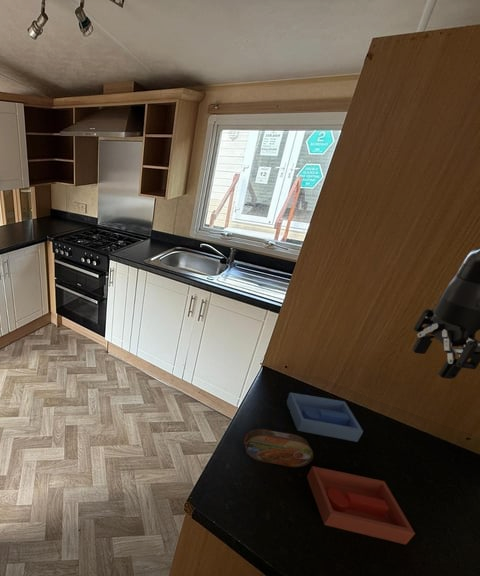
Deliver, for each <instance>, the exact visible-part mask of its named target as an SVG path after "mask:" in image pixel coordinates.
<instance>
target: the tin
mask: <svg viewBox="0 0 480 576" xmlns="http://www.w3.org/2000/svg"><path fill="white" fill-rule="evenodd" d="M243 443H244V450H245V452H246V454H247V455H248V456H249V457H250V458H252V459H253V460H256V461H258V462H264V463H269V464H274V465H279V466H283V467H289V468H302V467H305V466H307V465H309V464H310V463H311V462H312V461H313V459H314V451H313V449H312V448H311V445H310V444H309V442H308V441H307V440H306V439H305V438H304V437H302V436H301V435H297V434H293V433H287V432H283V431H277V430H271V429H266V428H256V429H253V430H250V431H249V432H247V434H245V437H244V440H243Z"/></svg>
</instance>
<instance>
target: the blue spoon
mask: <svg viewBox="0 0 480 576" xmlns="http://www.w3.org/2000/svg"><path fill="white" fill-rule="evenodd" d="M302 416H303V418H304V419H308V420H314V421H320V422H326V423H331V424H337V425H343V426H346V425H347V423H348V421H349V419H350V418H349V416H348V415H347V414H346V413H340V412H335V411H329V410H323V409H319V410H318V411H317V410H315V409H313V408H311V407H305V408H304V410H303V412H302Z"/></svg>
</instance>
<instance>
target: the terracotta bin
mask: <svg viewBox="0 0 480 576" xmlns="http://www.w3.org/2000/svg"><path fill="white" fill-rule="evenodd" d="M310 467H311V468H310V470H309V472H308V473H307V475H306V478H307V481H308V484H309V487H310V490H311V492H312V496H313V498H314V501H315V503H316V506H317V509H318V512H319V514H320V517H321V520H322V522H323V526H326V527H332V528H336V529H340V530H343V531H348V532H352V533H356V534H360V535H364V536H369V537H373V538H377V539H380V540H385V541H390V542H394V543H397V544H401V545H407V544H408V543H409V542H410V541H411V540H412V538H413V537H414V536H415V535H416V532H415V531H414V529H413V527H412V526H411V524H410V522H409V521H408V519H407V517H406V515H405V514H404V512H403V510H402V508H401V507H400V505H399V503H398V502H397V500H396V499H395V496H394V495H393V493H392V491H391V490H390V487H388V485H387V483H386V481H385V480H380V479H375V478H370V477H367V476H362V475H361V476H360V475H358V474H352V473H348V472H343V471H337V470H332V469H330V468H329V469H328V468H323V467H319V466H313V465H311V466H310ZM329 488H336V489H338V490H340V491H341V492H343V493H344V494H345V495H346V494H347V492H348V493H353V494H358V495H362V496H367V497H371V498H376V499H380V500H384V501H385V502H386V504H387V506H388V508H389V510H388V511H387V513H386V514H385V515H384V517H381V516H377V515H372V514H368V513H363V512H359V511H355V510H350V509H346V510H345V511H343V512H339V511H336V510H334V509H332V506H331V504H330V501H329V499H328V496H327V494H326V492H327V490H328V489H329Z"/></svg>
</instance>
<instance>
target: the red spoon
mask: <svg viewBox="0 0 480 576" xmlns="http://www.w3.org/2000/svg"><path fill="white" fill-rule="evenodd" d="M326 494H327V496H328V499H329V501H330V504H331V506H332V509H334V510H336V511H339V512H343V511H345V510H346V509H350V510H355V511H359V512H363V513H368V514H372V515H377V516H381V517H384V515H385V514H386V513H387V511H388V510H389V508H388V506H387V504H386V502H385V501H384V500H380V499H376V498H371V497H367V496H362V495H358V494H353V493H348V492H347V494H346V495H345V494H344V493H343V492H341V491H340V490H338V489H336V488H329V489H328V490H327V492H326Z"/></svg>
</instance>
